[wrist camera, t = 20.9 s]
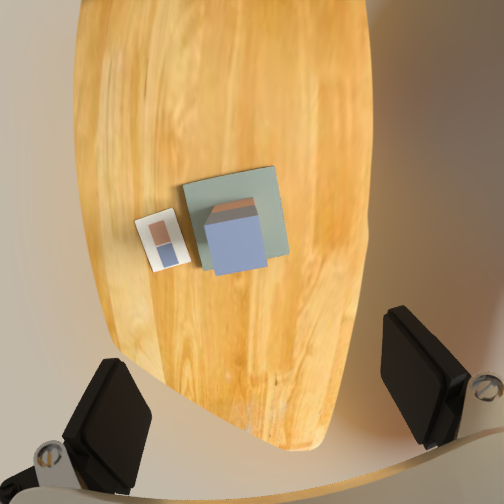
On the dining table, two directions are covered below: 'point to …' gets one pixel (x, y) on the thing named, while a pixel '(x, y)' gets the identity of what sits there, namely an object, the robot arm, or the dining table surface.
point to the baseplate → (232, 189)
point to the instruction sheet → (162, 240)
